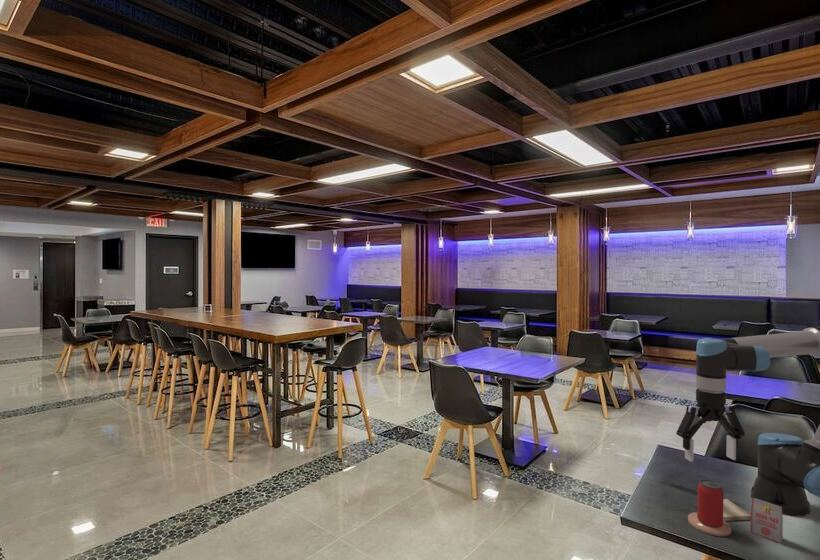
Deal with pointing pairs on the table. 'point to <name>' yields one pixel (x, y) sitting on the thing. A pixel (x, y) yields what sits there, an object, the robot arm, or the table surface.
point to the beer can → (710, 503)
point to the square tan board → (734, 512)
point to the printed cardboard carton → (766, 520)
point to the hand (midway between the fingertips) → (710, 459)
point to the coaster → (714, 531)
